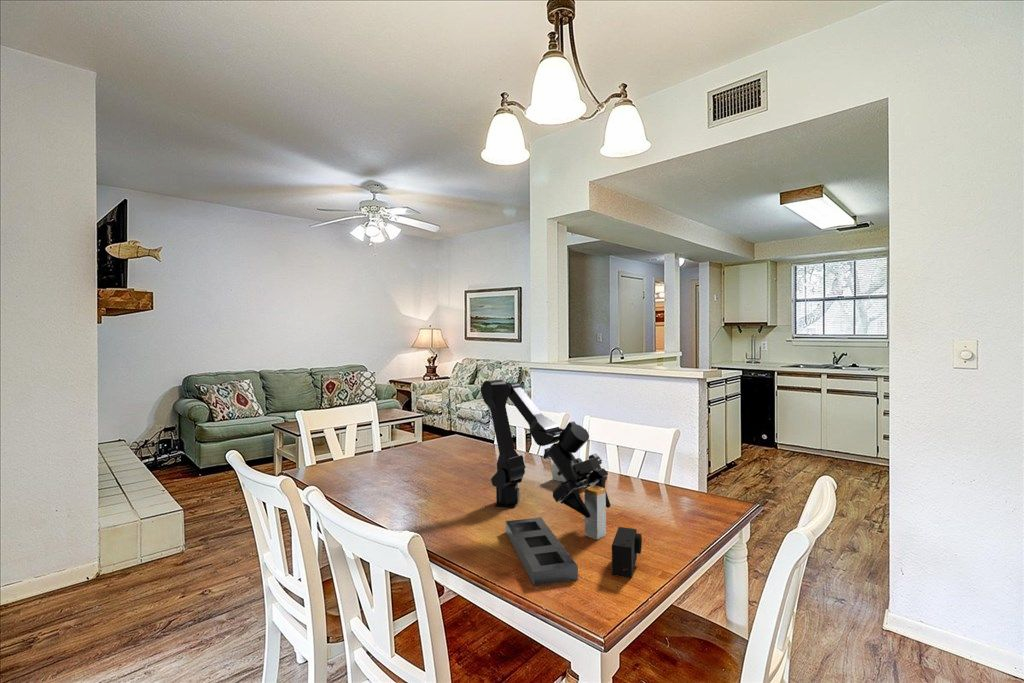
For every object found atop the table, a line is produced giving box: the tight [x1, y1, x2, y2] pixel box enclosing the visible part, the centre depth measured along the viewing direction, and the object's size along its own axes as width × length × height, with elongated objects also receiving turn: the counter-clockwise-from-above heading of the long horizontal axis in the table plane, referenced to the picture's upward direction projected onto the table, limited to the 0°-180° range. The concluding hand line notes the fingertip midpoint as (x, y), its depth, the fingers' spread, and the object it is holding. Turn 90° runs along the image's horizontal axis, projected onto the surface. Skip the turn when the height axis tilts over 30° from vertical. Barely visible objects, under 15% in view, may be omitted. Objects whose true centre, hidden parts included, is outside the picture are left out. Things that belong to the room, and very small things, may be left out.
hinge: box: [550, 461, 593, 488], centre depth 168 cm, size 17×5×10 cm, turn 51°
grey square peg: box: [583, 485, 607, 541], centre depth 126 cm, size 4×4×12 cm
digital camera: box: [611, 526, 643, 579], centre depth 109 cm, size 10×5×7 cm, turn 159°
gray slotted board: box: [505, 517, 579, 587], centre depth 116 cm, size 28×10×3 cm, turn 13°
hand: (599, 511), depth 125 cm, fingers open, 9 cm apart
